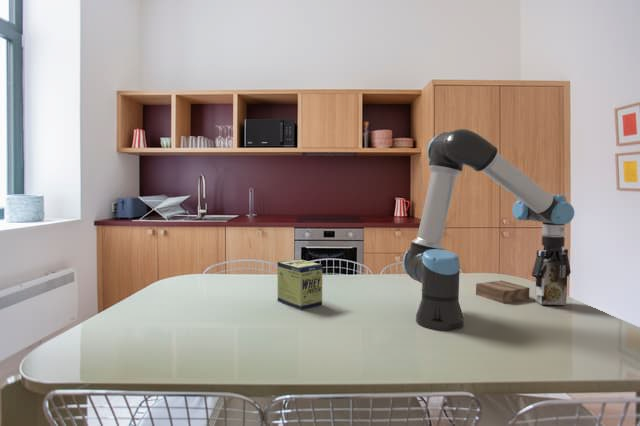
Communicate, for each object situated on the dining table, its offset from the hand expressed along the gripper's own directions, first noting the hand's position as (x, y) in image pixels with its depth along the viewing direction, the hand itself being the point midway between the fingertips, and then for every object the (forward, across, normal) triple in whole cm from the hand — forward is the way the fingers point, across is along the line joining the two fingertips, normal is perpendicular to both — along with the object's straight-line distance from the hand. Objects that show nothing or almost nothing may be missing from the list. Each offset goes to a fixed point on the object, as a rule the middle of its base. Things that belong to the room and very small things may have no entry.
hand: (550, 293), depth 165 cm
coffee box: (+4, 0, 0) cm, 4 cm away
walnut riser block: (+4, -9, +15) cm, 18 cm away
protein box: (+5, -87, +39) cm, 95 cm away
